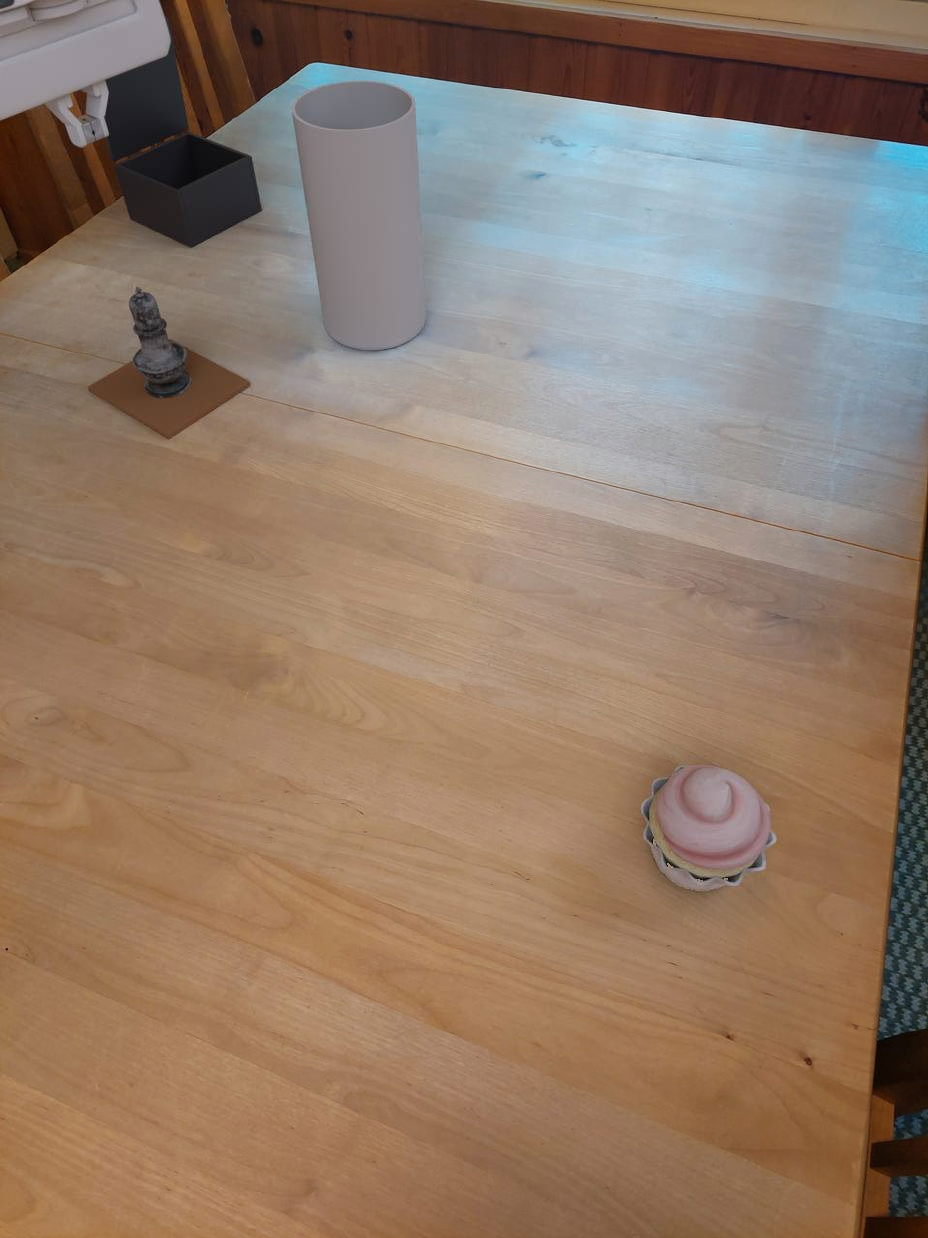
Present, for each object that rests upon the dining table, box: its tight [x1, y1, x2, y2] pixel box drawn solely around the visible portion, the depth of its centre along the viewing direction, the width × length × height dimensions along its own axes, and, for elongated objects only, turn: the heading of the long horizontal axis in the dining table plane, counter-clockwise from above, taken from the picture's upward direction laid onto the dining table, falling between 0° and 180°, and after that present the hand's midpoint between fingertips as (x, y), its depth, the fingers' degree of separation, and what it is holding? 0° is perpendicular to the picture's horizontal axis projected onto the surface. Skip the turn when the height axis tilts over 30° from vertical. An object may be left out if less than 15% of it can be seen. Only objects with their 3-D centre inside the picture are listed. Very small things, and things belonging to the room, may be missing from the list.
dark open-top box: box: [113, 131, 263, 249], centre depth 126 cm, size 13×13×8 cm
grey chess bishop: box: [128, 286, 192, 398], centre depth 98 cm, size 6×6×12 cm
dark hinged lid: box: [104, 16, 190, 163], centre depth 119 cm, size 14×13×1 cm
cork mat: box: [87, 338, 251, 440], centre depth 102 cm, size 14×12×1 cm
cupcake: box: [640, 764, 778, 892], centre depth 62 cm, size 9×9×10 cm
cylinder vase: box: [291, 80, 427, 351], centre depth 101 cm, size 12×12×25 cm
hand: (91, 140), depth 82 cm, fingers closed
